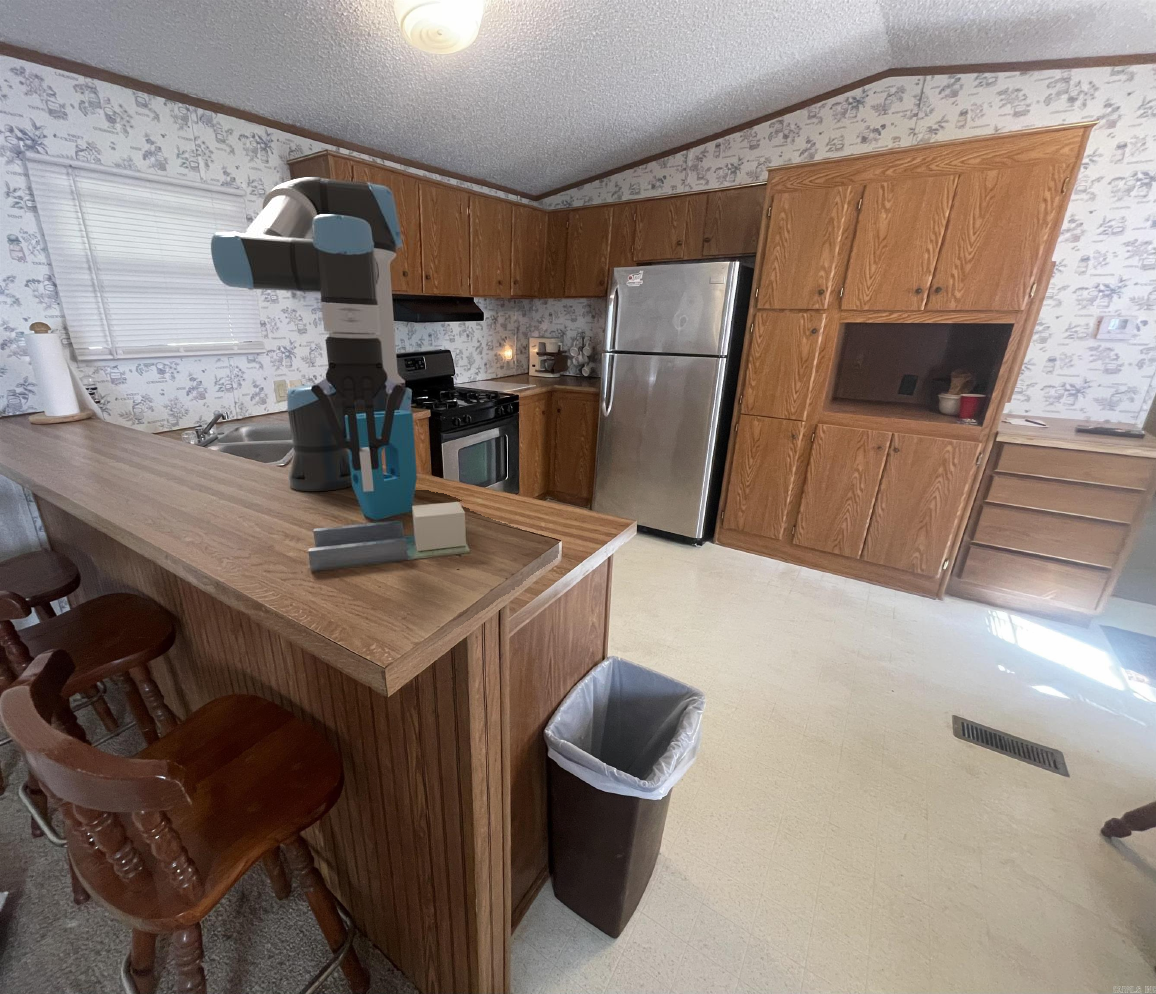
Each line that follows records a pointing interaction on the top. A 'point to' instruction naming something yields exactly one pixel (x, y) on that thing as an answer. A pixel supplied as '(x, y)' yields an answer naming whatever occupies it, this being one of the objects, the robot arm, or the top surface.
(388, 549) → the chute
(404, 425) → the block
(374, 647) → the top surface
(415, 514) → the block
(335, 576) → the top surface
